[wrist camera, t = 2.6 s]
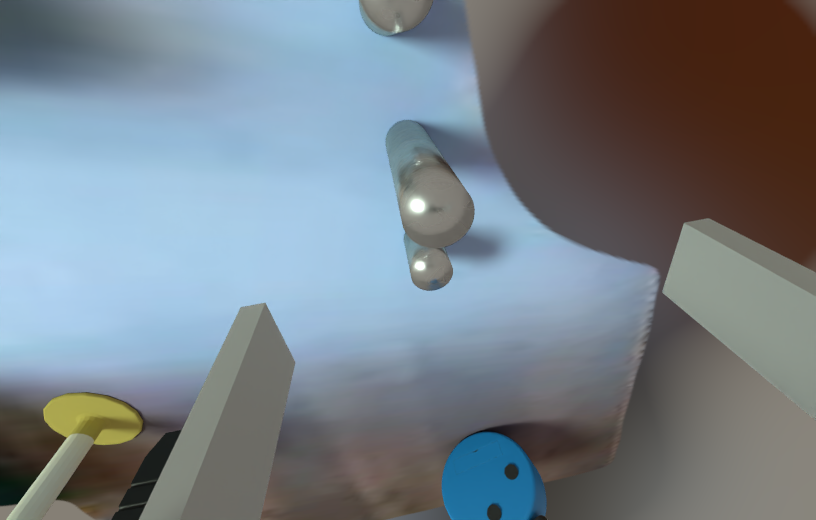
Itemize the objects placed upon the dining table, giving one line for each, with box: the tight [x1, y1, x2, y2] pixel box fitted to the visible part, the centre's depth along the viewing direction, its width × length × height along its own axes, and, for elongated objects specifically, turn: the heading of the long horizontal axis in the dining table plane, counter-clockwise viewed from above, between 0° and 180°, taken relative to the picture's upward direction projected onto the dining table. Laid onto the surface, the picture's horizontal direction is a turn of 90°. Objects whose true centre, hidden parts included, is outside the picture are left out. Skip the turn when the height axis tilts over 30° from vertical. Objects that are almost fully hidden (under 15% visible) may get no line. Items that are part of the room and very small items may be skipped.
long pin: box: [386, 120, 474, 248], centre depth 22 cm, size 3×3×14 cm
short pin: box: [404, 232, 453, 291], centre depth 30 cm, size 3×3×6 cm
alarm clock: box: [442, 432, 547, 520], centre depth 47 cm, size 13×6×15 cm, turn 118°
